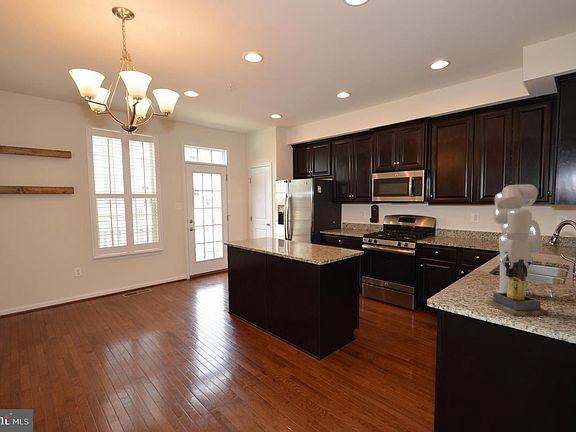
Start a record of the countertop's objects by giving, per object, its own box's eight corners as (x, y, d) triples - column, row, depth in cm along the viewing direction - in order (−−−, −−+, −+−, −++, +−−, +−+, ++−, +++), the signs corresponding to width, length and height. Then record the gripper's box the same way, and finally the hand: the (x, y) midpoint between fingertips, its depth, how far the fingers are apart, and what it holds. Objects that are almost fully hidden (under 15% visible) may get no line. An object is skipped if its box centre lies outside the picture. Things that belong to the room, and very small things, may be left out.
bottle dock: (517, 301, 138) (517, 290, 138) (547, 314, 123) (548, 301, 123) (486, 303, 137) (486, 292, 137) (513, 316, 122) (513, 303, 122)
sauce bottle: (503, 298, 133) (504, 256, 132) (515, 298, 134) (517, 256, 132) (515, 304, 127) (517, 259, 125) (528, 303, 127) (530, 259, 126)
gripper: (527, 235, 133) (526, 273, 134) (492, 236, 132) (492, 275, 133) (543, 237, 125) (541, 277, 126) (506, 238, 124) (505, 279, 125)
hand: (516, 276), depth 129 cm, fingers closed on sauce bottle, 6 cm apart
